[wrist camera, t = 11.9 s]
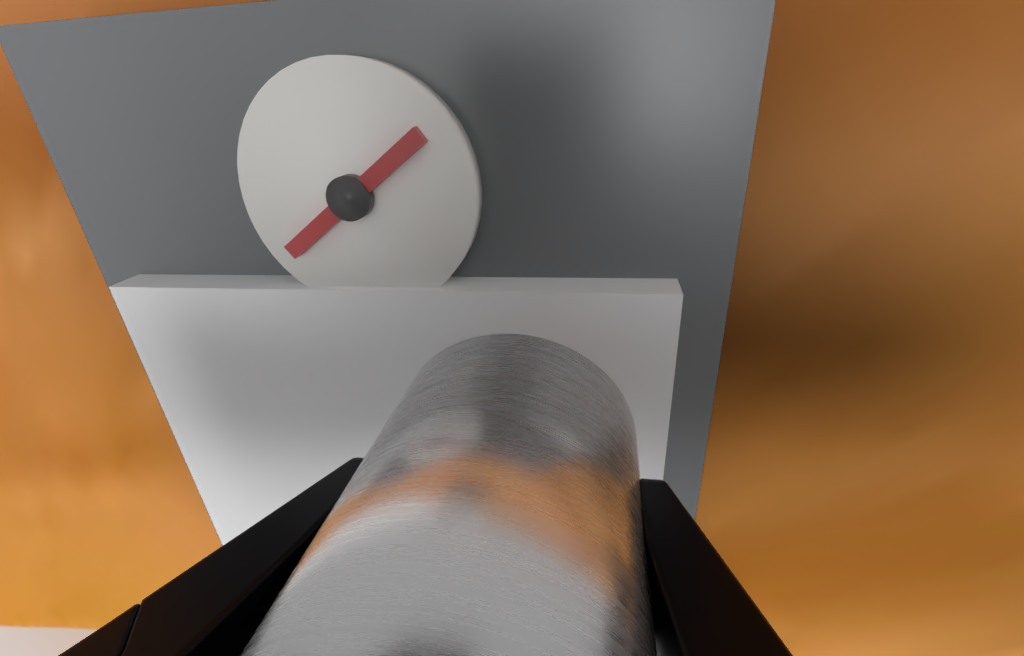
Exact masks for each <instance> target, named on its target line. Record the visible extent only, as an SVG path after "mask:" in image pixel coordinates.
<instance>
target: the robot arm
mask: <svg viewBox="0 0 1024 656" xmlns="http://www.w3.org/2000/svg"><path fill="white" fill-rule="evenodd" d="M363 459H364V458H361V457H356V458H352V459H351V460H349V461H347V462H346V463H344V464H343V465H341V466H340V467H338V468H337V469H336V470H334V471H333V472H331V473H330V474H328V475H327V476H325V477H324V478H322V479H321V480H319V481H318V482H316V483H315V484H313V485H312V486H310V487H309V488H307V489H306V490H304V491H303V492H302V493H300V494H299V495H297V496H296V497H294V498H293V499H291V500H290V501H288V502H287V503H285V504H284V505H282V506H281V507H279V508H278V509H276V510H275V511H273V512H272V513H270V514H269V515H267V516H266V517H265V518H263V519H262V520H260V521H259V522H257V523H256V524H254V525H253V526H251V527H250V528H248V529H247V530H245V531H244V532H242V533H241V534H239V535H238V536H236V537H235V538H233V539H232V540H231V541H229V542H228V543H226V544H225V545H223V546H222V547H220V548H219V549H217V550H216V551H214V552H213V553H211V554H210V555H208V556H207V557H205V558H204V559H202V560H201V561H199V562H198V563H196V564H195V565H194V566H192V567H191V568H189V569H188V570H186V571H185V572H183V573H182V574H180V575H179V576H177V577H176V578H174V579H173V580H171V581H170V582H168V583H167V584H165V585H164V586H162V587H161V588H159V589H158V590H156V591H155V592H154V593H152V594H151V595H149V596H148V597H146V598H145V599H143V600H142V602H141V605H140V604H136V605H134V606H133V607H131V608H130V609H128V610H127V611H125V612H124V613H122V614H121V615H119V616H118V617H116V618H115V619H113V620H112V621H110V622H109V623H107V624H106V625H104V626H103V627H101V628H100V629H98V630H97V631H95V632H94V633H92V634H91V635H89V636H88V637H86V638H85V639H83V640H82V641H80V642H79V643H77V644H75V645H74V646H72V647H71V648H69V649H68V650H66V651H65V652H63V653H62V654H60V655H59V656H240V655H241V654H242V652H243V650H244V649H245V647H246V646H247V644H248V642H249V641H250V639H251V638H252V636H253V634H254V633H255V631H256V630H257V628H258V626H259V625H260V623H261V622H262V620H263V618H264V617H265V615H266V614H267V612H268V611H269V609H270V607H271V606H272V604H273V603H274V601H275V599H276V598H277V596H278V595H279V593H280V591H281V590H282V588H283V587H284V585H285V583H286V582H287V580H288V579H289V577H290V575H291V574H292V572H293V571H294V569H295V567H296V566H297V564H298V563H299V561H300V559H301V558H302V556H303V555H304V553H305V551H306V550H307V548H308V547H309V545H310V543H311V542H312V540H313V539H314V537H315V536H316V534H317V532H318V531H319V529H320V528H321V526H322V524H323V523H324V521H325V520H326V518H327V516H328V515H329V513H330V512H331V510H332V508H333V507H334V505H335V504H336V502H337V500H338V499H339V497H340V496H341V494H342V492H343V491H344V489H345V488H346V486H347V484H348V483H349V481H350V480H351V478H352V476H353V475H354V473H355V472H356V470H357V468H358V467H359V465H360V464H361V462H362V461H363ZM640 492H641V505H642V517H643V528H644V538H645V548H646V557H647V565H648V573H649V581H650V588H651V597H652V608H653V618H654V629H655V639H656V650H657V656H793V655H792V654H791V652H790V651H789V650H788V648H787V647H786V646H785V644H784V643H783V642H782V640H781V639H780V637H779V636H778V635H777V633H776V632H775V631H774V629H773V628H772V626H771V625H770V624H769V622H768V621H767V620H766V618H765V617H764V615H763V614H762V613H761V611H760V610H759V609H758V607H757V606H756V604H755V603H754V602H753V600H752V599H751V598H750V596H749V595H748V593H747V592H746V591H745V589H744V588H743V587H742V585H741V584H740V582H739V581H738V580H737V578H736V577H735V576H734V574H733V573H732V571H731V570H730V569H729V567H728V566H727V565H726V563H725V562H724V560H723V559H722V558H721V556H720V555H719V554H718V552H717V551H716V549H715V548H714V547H713V545H712V544H711V543H710V541H709V540H708V538H707V537H706V536H705V534H704V533H703V532H702V530H701V529H700V527H699V526H698V525H697V523H696V522H695V521H694V519H693V518H692V517H691V515H690V514H689V512H688V511H687V510H686V508H685V507H684V506H683V504H682V503H681V501H680V500H679V499H678V497H677V496H676V495H675V493H674V492H673V490H672V489H671V488H670V486H669V485H668V484H667V482H665V481H664V480H659V479H645V478H641V479H640Z"/></svg>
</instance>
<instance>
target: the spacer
mask: <svg viewBox="0 0 1024 656" xmlns="http://www.w3.org/2000/svg"><path fill="white" fill-rule="evenodd" d="M240 656H657V650H656V639H655V629H654V618H653V608H652V597H651V588H650V581H649V573H648V565H647V557H646V548H645V538H644V528H643V517H642V505H641V492H640V469H639V459H638V448H637V437H636V429H635V424H634V419H633V416H632V413H631V410H630V407H629V405H628V403H627V401H626V399H625V398H624V396H623V394H622V392H621V391H620V390H619V388H618V387H617V386H616V384H615V383H614V381H613V380H612V379H611V378H610V377H609V376H608V375H607V374H606V373H605V372H604V371H603V370H602V369H601V368H599V367H598V366H597V365H596V364H594V363H593V362H592V361H591V360H589V359H588V358H586V357H584V356H583V355H581V354H580V353H578V352H576V351H575V350H572V349H570V348H568V347H566V346H564V345H562V344H559V343H556V342H553V341H550V340H547V339H544V338H540V337H535V336H530V335H523V334H512V333H503V334H488V335H482V336H476V337H473V338H469V339H466V340H462V341H460V342H458V343H455V344H453V345H451V346H449V347H447V348H445V349H444V350H442V351H440V352H439V353H437V354H436V355H435V356H433V357H432V358H431V359H430V360H429V361H428V362H426V363H425V365H424V366H423V367H422V368H421V369H420V370H419V372H418V373H417V374H416V376H415V378H414V379H413V381H412V382H411V384H410V386H409V387H408V389H407V390H406V392H405V393H404V395H403V397H402V398H401V400H400V401H399V403H398V405H397V406H396V408H395V409H394V411H393V413H392V414H391V416H390V417H389V419H388V421H387V422H386V424H385V425H384V427H383V429H382V430H381V432H380V433H379V435H378V437H377V438H376V440H375V441H374V443H373V445H372V446H371V448H370V449H369V451H368V453H367V454H366V456H365V457H364V459H363V461H362V462H361V464H360V465H359V467H358V468H357V470H356V472H355V473H354V475H353V476H352V478H351V480H350V481H349V483H348V484H347V486H346V488H345V489H344V491H343V492H342V494H341V496H340V497H339V499H338V500H337V502H336V504H335V505H334V507H333V508H332V510H331V512H330V513H329V515H328V516H327V518H326V520H325V521H324V523H323V524H322V526H321V528H320V529H319V531H318V532H317V534H316V536H315V537H314V539H313V540H312V542H311V543H310V545H309V547H308V548H307V550H306V551H305V553H304V555H303V556H302V558H301V559H300V561H299V563H298V564H297V566H296V567H295V569H294V571H293V572H292V574H291V575H290V577H289V579H288V580H287V582H286V583H285V585H284V587H283V588H282V590H281V591H280V593H279V595H278V596H277V598H276V599H275V601H274V603H273V604H272V606H271V607H270V609H269V611H268V612H267V614H266V615H265V617H264V618H263V620H262V622H261V623H260V625H259V626H258V628H257V630H256V631H255V633H254V634H253V636H252V638H251V639H250V641H249V642H248V644H247V646H246V647H245V649H244V650H243V652H242V654H241V655H240Z"/></svg>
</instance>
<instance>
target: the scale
mask: <svg viewBox="0 0 1024 656" xmlns="http://www.w3.org/2000/svg"><path fill="white" fill-rule="evenodd" d="M775 1H776V0H273V1H262V2H251V3H240V4H229V5H218V6H208V7H197V8H186V9H175V10H164V11H153V12H143V13H132V14H121V15H110V16H99V17H88V18H78V19H67V20H56V21H45V22H34V23H24V24H13V25H2V26H0V44H1V46H2V48H3V51H4V53H5V55H6V57H7V60H8V62H9V64H10V66H11V69H12V71H13V73H14V76H15V78H16V80H17V82H18V85H19V87H20V89H21V91H22V94H23V96H24V98H25V100H26V103H27V105H28V107H29V109H30V112H31V114H32V116H33V119H34V121H35V123H36V125H37V128H38V130H39V132H40V134H41V137H42V139H43V141H44V143H45V146H46V148H47V150H48V152H49V155H50V157H51V159H52V161H53V164H54V166H55V168H56V171H57V173H58V175H59V177H60V180H61V182H62V184H63V186H64V189H65V191H66V193H67V195H68V198H69V200H70V202H71V204H72V207H73V209H74V211H75V214H76V216H77V218H78V220H79V223H80V225H81V227H82V229H83V232H84V234H85V236H86V238H87V241H88V243H89V245H90V247H91V250H92V252H93V254H94V256H95V259H96V261H97V263H98V266H99V268H100V270H101V272H102V275H103V277H104V279H105V281H106V284H107V286H108V288H109V290H110V293H111V295H112V297H113V299H114V302H115V304H116V306H117V309H118V311H119V313H120V315H121V318H122V320H123V322H124V324H125V327H126V329H127V331H128V333H129V336H130V338H131V340H132V342H133V345H134V347H135V349H136V351H137V354H138V356H139V358H140V361H141V363H142V365H143V367H144V370H145V372H146V374H147V376H148V379H149V381H150V383H151V385H152V388H153V390H154V392H155V394H156V397H157V399H158V401H159V404H160V406H161V408H162V410H163V413H164V415H165V417H166V419H167V422H168V424H169V426H170V428H171V431H172V433H173V435H174V437H175V440H176V442H177V444H178V447H179V449H180V451H181V453H182V456H183V458H184V460H185V462H186V465H187V467H188V469H189V471H190V474H191V476H192V478H193V480H194V483H195V485H196V487H197V489H198V492H199V494H200V496H201V499H202V501H203V503H204V505H205V508H206V510H207V512H208V514H209V517H210V519H211V521H212V523H213V526H214V528H215V530H216V532H217V535H218V537H219V539H220V542H221V544H222V546H223V545H225V544H226V543H228V542H229V541H231V540H232V539H233V538H235V537H236V536H238V535H239V534H241V533H242V532H244V531H245V530H247V529H248V528H250V527H251V526H253V525H254V524H256V523H257V522H259V521H260V520H262V519H263V518H265V517H266V516H267V515H269V514H270V513H272V512H273V511H275V510H276V509H278V508H279V507H281V506H282V505H284V504H285V503H287V502H288V501H290V500H291V499H293V498H294V497H296V496H297V495H299V494H300V493H302V492H303V491H304V490H306V489H307V488H309V487H310V486H312V485H313V484H315V483H316V482H318V481H319V480H321V479H322V478H324V477H325V476H327V475H328V474H330V473H331V472H333V471H334V470H336V469H337V468H338V467H340V466H341V465H343V464H344V463H346V462H347V461H349V460H351V459H352V458H356V457H361V458H364V457H365V456H366V454H367V453H368V451H369V449H370V448H371V446H372V445H373V443H374V441H375V440H376V438H377V437H378V435H379V433H380V432H381V430H382V429H383V427H384V425H385V424H386V422H387V421H388V419H389V417H390V416H391V414H392V413H393V411H394V409H395V408H396V406H397V405H398V403H399V401H400V400H401V398H402V397H403V395H404V393H405V392H406V390H407V389H408V387H409V386H410V384H411V382H412V381H413V379H414V378H415V376H416V374H417V373H418V372H419V370H420V369H421V368H422V367H423V366H424V365H425V363H426V362H428V361H429V360H430V359H431V358H432V357H433V356H435V355H436V354H437V353H439V352H440V351H442V350H444V349H445V348H447V347H449V346H451V345H453V344H455V343H458V342H460V341H462V340H466V339H469V338H473V337H476V336H482V335H488V334H503V333H512V334H523V335H530V336H535V337H540V338H544V339H547V340H550V341H553V342H556V343H559V344H562V345H564V346H566V347H568V348H570V349H572V350H575V351H576V352H578V353H580V354H581V355H583V356H584V357H586V358H588V359H589V360H591V361H592V362H593V363H594V364H596V365H597V366H598V367H599V368H601V369H602V370H603V371H604V372H605V373H606V374H607V375H608V376H609V377H610V378H611V379H612V380H613V381H614V383H615V384H616V386H617V387H618V388H619V390H620V391H621V392H622V394H623V396H624V398H625V399H626V401H627V403H628V405H629V407H630V410H631V413H632V416H633V419H634V424H635V429H636V437H637V448H638V459H639V469H640V479H641V478H645V479H659V480H664V481H665V482H667V484H668V485H669V486H670V488H671V489H672V490H673V492H674V493H675V495H676V496H677V497H678V499H679V500H680V501H681V503H682V504H683V506H684V507H685V508H686V510H687V511H688V512H689V514H690V515H691V517H692V518H693V519H694V521H695V517H696V511H697V504H698V498H699V491H700V485H701V478H702V472H703V466H704V459H705V453H706V446H707V440H708V433H709V427H710V420H711V414H712V408H713V401H714V395H715V388H716V382H717V375H718V369H719V362H720V356H721V350H722V343H723V337H724V330H725V324H726V317H727V311H728V304H729V298H730V291H731V285H732V279H733V272H734V266H735V259H736V253H737V246H738V240H739V233H740V227H741V221H742V214H743V208H744V201H745V195H746V188H747V182H748V175H749V169H750V163H751V156H752V150H753V143H754V137H755V130H756V124H757V117H758V111H759V105H760V98H761V92H762V85H763V79H764V72H765V66H766V59H767V53H768V47H769V40H770V34H771V27H772V21H773V14H774V8H775Z"/></svg>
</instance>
